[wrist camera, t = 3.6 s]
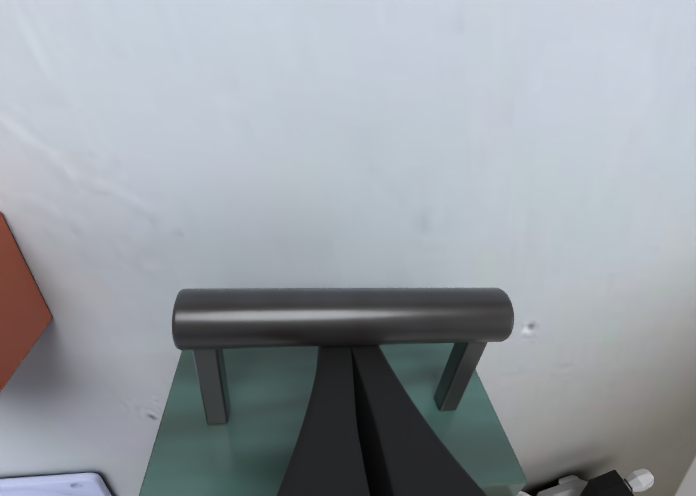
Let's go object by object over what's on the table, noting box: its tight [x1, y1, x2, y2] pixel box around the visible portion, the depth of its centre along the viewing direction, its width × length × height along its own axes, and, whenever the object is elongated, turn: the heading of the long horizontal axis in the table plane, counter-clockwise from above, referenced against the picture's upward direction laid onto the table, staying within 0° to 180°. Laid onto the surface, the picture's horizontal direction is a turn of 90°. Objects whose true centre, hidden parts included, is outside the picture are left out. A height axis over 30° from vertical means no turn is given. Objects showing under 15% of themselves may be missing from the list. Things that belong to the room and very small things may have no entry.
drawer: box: [139, 288, 527, 496], centre depth 14 cm, size 17×10×6 cm, turn 175°
